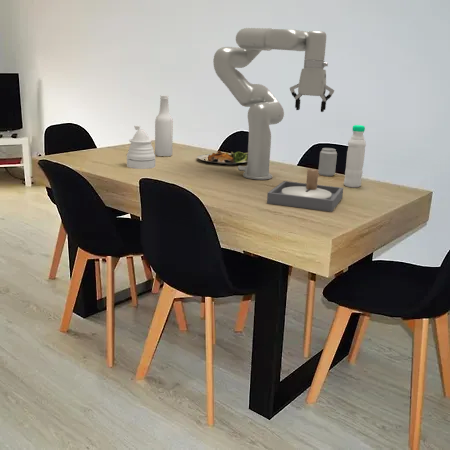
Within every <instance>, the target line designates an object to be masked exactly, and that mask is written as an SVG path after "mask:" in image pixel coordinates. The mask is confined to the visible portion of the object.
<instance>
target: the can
mask: <svg viewBox="0 0 450 450" xmlns="http://www.w3.org/2000/svg"><path fill="white" fill-rule="evenodd" d="M336 150H337V149H335V148H332V147H323V148H322V149H321V151H319V162H318V175H320V176H322V175H323V177H333V176H334V175H336V165H337V156H338V153H337V151H336Z"/></svg>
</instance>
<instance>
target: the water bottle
mask: <svg viewBox="0 0 450 450" xmlns="http://www.w3.org/2000/svg"><path fill="white" fill-rule="evenodd" d="M365 130H366V126H365V125H360V124H354V125H353V126H352V135H351V136H350V138H349V140H348V142H347V146H348V147H347V151H346V161H345V162H346V163H345V171H344V179H343V185H344V186H345V187H348V188H353V189H354V188H356V189H357V188H361V186H362V177H363V167H364V161H365V154H366V153H365V151H366V146H367V143H366V139H365V136H364V132H365Z"/></svg>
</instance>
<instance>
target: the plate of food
mask: <svg viewBox="0 0 450 450" xmlns="http://www.w3.org/2000/svg"><path fill="white" fill-rule="evenodd" d="M196 158H197V159H199V160H201V161H203V162H206V163H212V164H213V163H214V164H218V165H219V164H220V165H227V166H228V165H230V166H231V165H238V164H243V163H247V160H248V152H241V151H236V152H234V151H230V153H229V152H224V151H223V152H222V151H221V150H218V151H217V152H216V153H215V152H212V153H207V154H201V155H197V156H196ZM206 158H208V160H204V159H206Z"/></svg>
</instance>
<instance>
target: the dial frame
mask: <svg viewBox="0 0 450 450" xmlns="http://www.w3.org/2000/svg"><path fill="white" fill-rule="evenodd" d="M293 186H305V187H306V182H297V181H288V180H287V181H286V180H283V181H282V182H280V183H279V184H278V185H277V186H275V187H274V188H272V189H271V190H269V191H267V197H266V204H269V205H277V206H285V207H294V208H302V209H306V210H307V209H308V210H309V209H310V210H315V211H322V212H323V211H324V212H333V211H335V208H337V206H338V204H339V203H340V202H341V200H342V199H343V194H344V187H341V186H333V185H331V186H330V185H323V184H322V185H321V184H317V188H320V189H324V190H327V191H329V192H331V193H332V195H331V199H330V200H328V199H320V198H312V197H304V196H296V195H288V194H282V189H283V188H286V187H293Z"/></svg>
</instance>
